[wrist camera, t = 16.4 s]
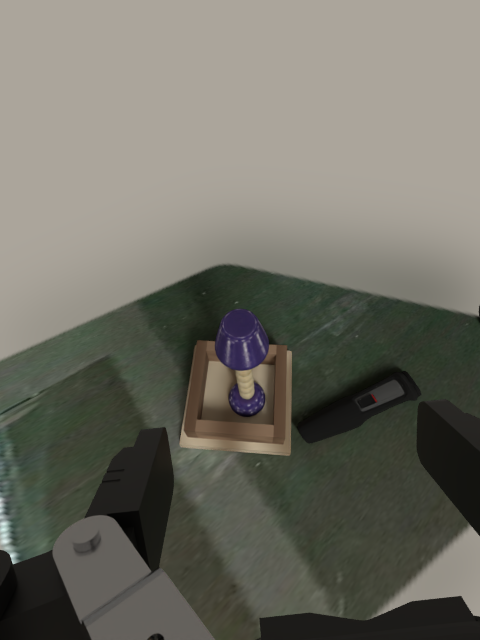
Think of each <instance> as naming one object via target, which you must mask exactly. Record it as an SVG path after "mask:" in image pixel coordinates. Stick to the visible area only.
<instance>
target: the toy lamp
mask: <svg viewBox="0 0 480 640" xmlns="http://www.w3.org/2000/svg"><path fill="white" fill-rule="evenodd" d="M268 351H269V340H268V337H267V334H266V332H265V331H264V329H263V327H262V325H261V323H260V322H259V320H258V318H257V317H256V316H255V315H254V314H253V313H252V312H250V311H249V310H245V309H235V310H232V311H230V312H228V313H227V314H226V315H225V316H224V317H223V319H222V321H221V323H220V326H219V329H218V333H217V336H216V340H215V352H216V355H217V357H218V359H219V360H220V362H221V363H222V364H224V365H225V366H226V367H228V368H230V369H232V370H235V371H236V378H237V383H236V384H235V385H234V386H233V387H232V389H231V390H230V393H229V398H228V399H229V404H230V407H231V409H232V410H233V411H234V412H235V413H236V414H238V415H240V416H243V417H250V416H253V415H256V414H257V413H259V412H260V411H261V410H262V409H263V407H264V405H265V399H266V398H265V393H264V390H263V389H262V387H261V386H260V385H259V384H258V383H256V382H254V378H253V370H252V369H253V368H255V367H257V366H258V365H260V364H261V363H262V362H263V361H264V359H265V358H266V356H267V354H268Z"/></svg>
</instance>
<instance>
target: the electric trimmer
mask: <svg viewBox="0 0 480 640" xmlns="http://www.w3.org/2000/svg"><path fill="white" fill-rule="evenodd" d="M420 395H421V392H420V389H419V388H418V386H417V385H416V383H415V382H414V381H413V379H412V378H411V376H410V375H409V374H408V373H407V372H406V371H403V372H395V373H394V374H392V375H391V376H389V377H387V378H385V379H383V380H381V381H380V382H378V383H376V384H374V385H372V386H370V387H368V388H366V389H364V390H362V391H360V392H358V393H355V394H353V395H351V396H348V397H344V398H342V399H340V400H338V401H336V402H334V403H332V404H331V405H329V406H327V407H325V408H324V409H322V410H320V411H319V412H317V413H315V414H313V415H312V416H310V417H308V418H306V419H305V420H303V421H302V422H300V423H299V424H298V430H299V433H300V434H301V436H302V438H303V439H304V440H305V441H306V442H307V443H313V442H317V441H320V440H323V439H326V438H329V437H332V436H335V435H338V434H341V433H343V432H346V431H349V430H352V429H354V428H357V427H359V426H361V425H362V424H363V423H364V422H365V421H366V420H367V419H369V418H370V417H372V416H374V415H376V414H378V413H380V412H383V411H385V410H387V409H389V408H391V407H393V406H395V405H398V404H400V403H403V402H405V401H408V400H417V397H418V396H420Z"/></svg>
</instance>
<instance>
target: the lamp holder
mask: <svg viewBox="0 0 480 640" xmlns="http://www.w3.org/2000/svg"><path fill="white" fill-rule="evenodd" d="M252 370H253V378H254V382H256V383H258V384H259V385H260V386H261V387H262V389H263V390H264V393H265V398H266V399H265V405H264V407H263V409H262V410H261V411H260V412H259V413H257V414H256V415H253V416H250V417H243V416H240V415H238V414H236V413H235V412H234V411H233V410H232V409H231V407H230V404H229V399H228V398H229V393H230V390H231V389H232V387H233V386H234V385H235V384H236V383H237V378H236V371H235V370H232V369H230V368H228V367H226V366H225V365H224V364H222V363H221V362H220V360H219V359H218V357H217V355H216V352H215V341H200V340H197V345H195V348H194V355H193V361H192V367H191V374H190V380H189V386H188V393H187V399H186V405H185V412H184V418H183V425H182V431H181V437H180V446H181V447H184V448H197V449H210V450H223V451H236V452H249V453H262V454H275V455H288V456H290V453H291V382H292V351H287V346H286V345H269V351H268V354H267V356H266V358H265V359H264V361H263V362H262V363H261V364H260V365H258V366H257V367H255V368H253V369H252Z"/></svg>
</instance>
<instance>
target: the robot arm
mask: <svg viewBox="0 0 480 640" xmlns="http://www.w3.org/2000/svg"><path fill="white" fill-rule="evenodd" d="M479 317H480V306H479ZM417 453H418V456H419V459H420V462H421V464H422V465H423V467H424V468H425V469H426V470H427V472H428V473H429V474H430V475H431V477H432V478H433V479H434V480H435V482H436V483H437V484H438V485H439V486H440V488H441V489H442V490H443V491H444V493H445V494H446V495H447V496H448V498H449V499H450V500H451V501H452V503H453V504H454V505H455V506H456V507H457V509H458V510H459V511H460V512H461V514H462V515H463V516H464V517H465V519H466V520H467V521H468V522H469V524H470V525H471V526H472V527H473V528H474V530H475V531H476V532H477V533H478V535H479V536H480V419H479V418H477V417H475V416H472V415H470V414H468V413H463V412H462V411H461V410H460V409H458V408H457V407H456V406H455V405H453V404H452V403H451V402H450V401H448V400H446V399H442V400H433V401H423V402H420V403H419V406H418V416H417ZM173 487H174V475H173V467H172V461H171V454H170V448H169V442H168V435H167V431H166V428H165V427H162V428H153V429H143V430H141V431H140V432H139V435H138V437H137V440H136V442H135V445H134V447H127V448H123V449H122V450H121V451H120V452H119V453H118V454H117V455H116V456H115V457H114V458H113V459H112V461H111V463H110V465H109V467H108V469H107V473H105V475H104V478H103V480H102V484H100V486H99V488H98V490H97V492H96V495H95V497H94V499H93V501H92V503H91V505H90V507H89V509H88V512H87V514H86V516H85V518H84V519H82V520H80V521H78V522H76V523H74V524H73V525H71V526H70V527H68V528H67V529H66V530H65V531H64V532H63V533H62V534H61V535H60V536H59V537H58V539H57V540H56V542H55V544H54V547H53V550H51V551H49V552H47V553H44V554H42V555H39V556H36V557H33V558H30V559H28V560H25V561H22V562H19V563H16V564H14V565H13V564H12V561H11V557H10V555H9V554H8V553H7V552H5V551H3V550H0V640H215V639H214V638H213V636H212V635H211V634H210V632H209V631H208V630H207V628H206V627H205V626H204V624H203V623H202V622H201V620H200V619H199V617H198V616H197V615H196V613H195V612H194V611H193V609H192V608H191V607H190V605H189V604H188V603H187V601H186V600H185V599H184V597H183V596H182V595H181V593H180V592H179V590H178V589H177V588H176V586H175V585H174V584H173V582H172V581H171V580H170V578H169V577H168V576H167V574H166V573H165V572H164V571H163V570H162V569H161V568H159V563H160V558H161V553H162V547H163V542H164V537H165V532H166V526H167V521H168V516H169V511H170V505H171V500H172V495H173ZM259 619H260V630H261V638H259V639H256V640H480V617H479V616H473V614H472V613H471V611H470V610H469V608H468V607H467V605H466V604H465V602H464V600H463V599H462V597H461V596H458V597H447V598H439V599H429V600H421V601H412V602H409V603H407V604H405V605H402V606H400V607H398V608H395V609H393V610H391V611H388V612H386V613H384V614H381V615H379V616H377V617H374V618H372V619H370V620H365V621H361V620H354V619H347V618H340V617H334V616H327V615H321V614H314V613H303V614H294V615H284V616H275V617H266V618H259Z"/></svg>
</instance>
